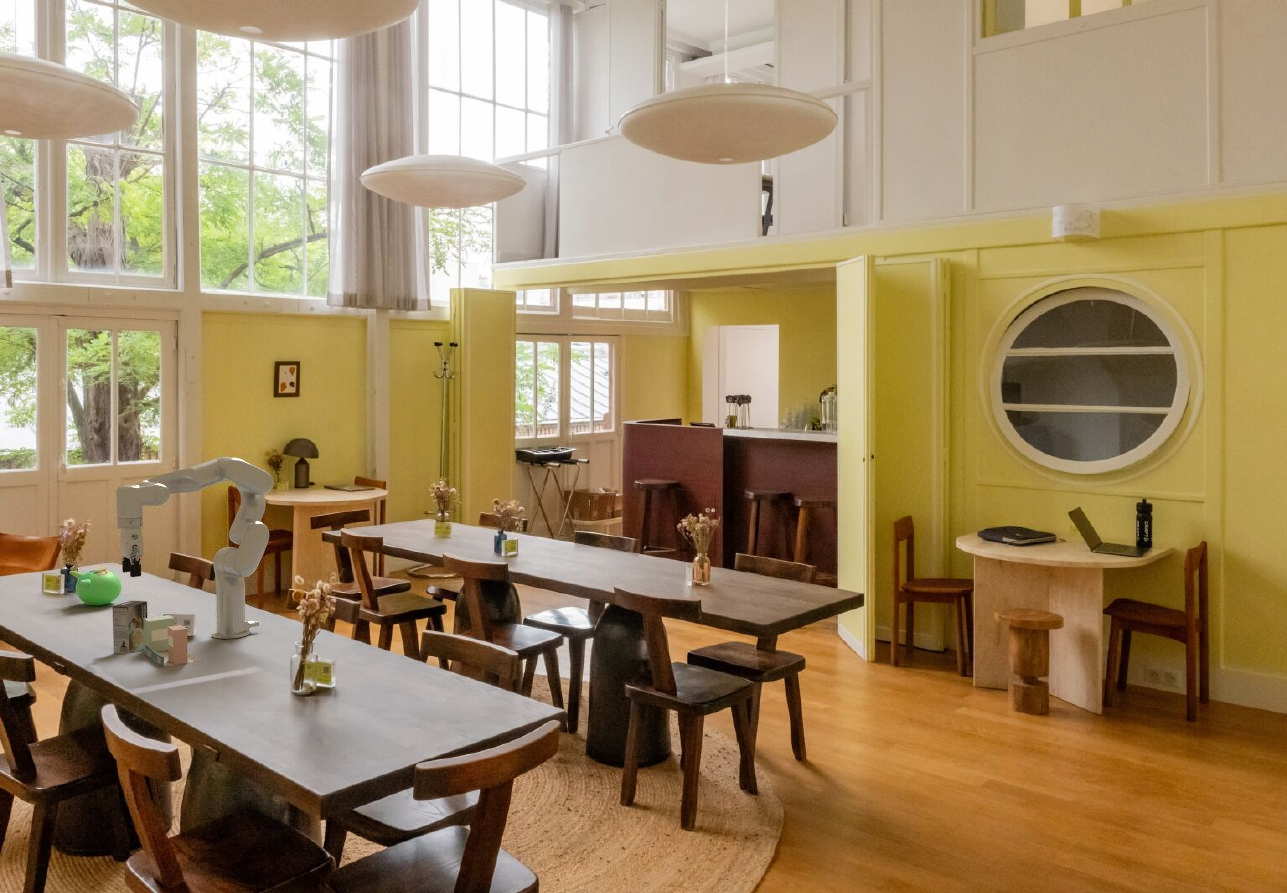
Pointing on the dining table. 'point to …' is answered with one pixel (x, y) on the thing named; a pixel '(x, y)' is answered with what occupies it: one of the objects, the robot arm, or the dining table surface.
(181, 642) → the terracotta carton
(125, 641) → the coffee box
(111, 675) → the dining table surface
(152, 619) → the sage carton
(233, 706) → the dining table surface
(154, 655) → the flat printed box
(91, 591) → the green teapot
